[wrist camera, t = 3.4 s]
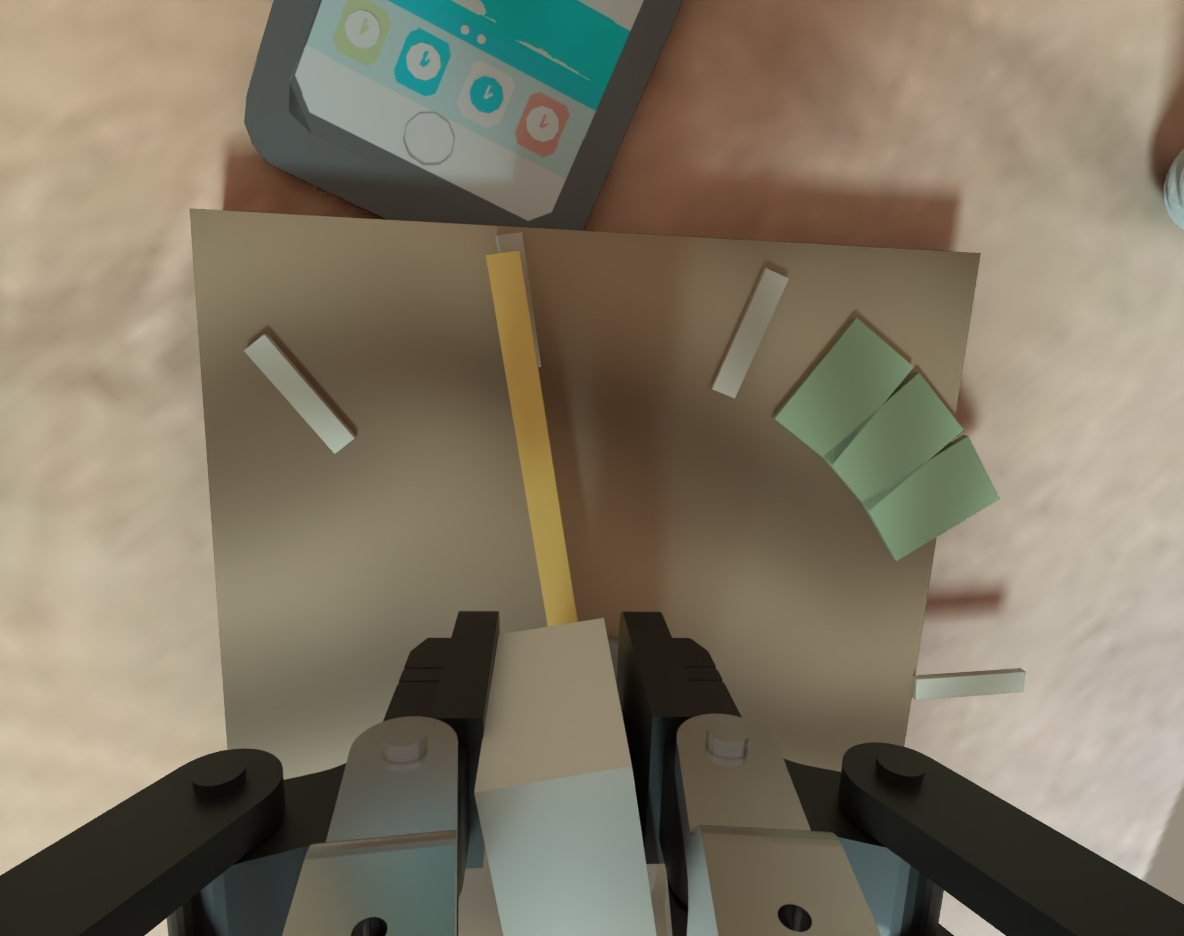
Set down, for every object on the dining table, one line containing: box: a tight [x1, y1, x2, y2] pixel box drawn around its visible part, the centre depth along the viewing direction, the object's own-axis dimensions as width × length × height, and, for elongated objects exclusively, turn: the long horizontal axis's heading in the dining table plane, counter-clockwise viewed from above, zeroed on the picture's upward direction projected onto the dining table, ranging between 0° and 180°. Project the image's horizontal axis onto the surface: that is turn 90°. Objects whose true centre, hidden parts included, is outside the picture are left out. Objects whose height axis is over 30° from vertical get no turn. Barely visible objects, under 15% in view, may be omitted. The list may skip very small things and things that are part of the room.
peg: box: [474, 251, 657, 936], centre depth 12 cm, size 16×2×9 cm, turn 8°
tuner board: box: [190, 209, 1025, 936], centre depth 19 cm, size 24×21×2 cm
